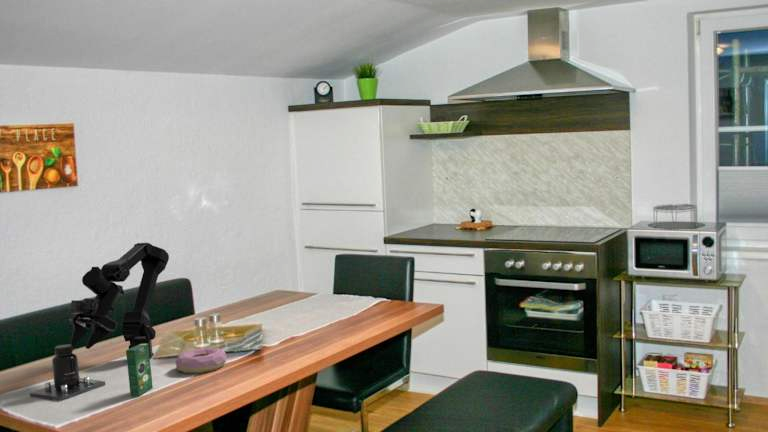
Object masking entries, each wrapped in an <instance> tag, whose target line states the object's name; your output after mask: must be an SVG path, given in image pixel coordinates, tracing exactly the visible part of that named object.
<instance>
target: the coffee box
mask: <svg viewBox="0 0 768 432" xmlns="http://www.w3.org/2000/svg"><path fill="white" fill-rule="evenodd" d="M125 354H126V356H125V357H126V364H127V376H128V383H129V393H130V397H131V398H132V397H134V398H136V397H137V398H138V397H140V396H142V395H143V394H145V393H147V391H150V390H151V389H153V388H154V387H153V378H152V370H151V359H150V357H149V347H148V344H139V345H137V346H135V347H132V348H130V349H129V348H128V349H127V350H125Z"/></svg>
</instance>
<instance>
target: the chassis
mask: <svg viewBox="0 0 768 432" xmlns="http://www.w3.org/2000/svg"><path fill="white" fill-rule="evenodd" d="M79 381H80V384H79V386H77V387H75V388H72V389H68V388H67V385H61V390H57V389H56V388H55V385H54V384H51V382H49V381H48V382H47V381H46V382H44V387H41V388H39V389H36V390H33V391H31V392H29V396H30V397H33V398H39V399H46V400H52V401H58V402H62V401H65V400H68V399H70V398H74V397H76V396H79V395H82V394H84V393H87V392H90V391H92V390H96V389H99V388H100V387H104V386H105V385H106V381H103V380H98V379H90V377H89V376H85V377H79Z"/></svg>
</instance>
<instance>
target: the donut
mask: <svg viewBox="0 0 768 432" xmlns="http://www.w3.org/2000/svg"><path fill="white" fill-rule="evenodd" d="M227 359H228V357H227V354H226V352H225V351H224V350H223V349H222V348H219V347H200V348H194V349H190V350H187V351H184V352H182V353H181V354H179V355H178V356H177V357H176V358H175V365H176V366H175V367H176V369H177V370H178V371H180V372H182V373H185V374H203V373H208V372H212V371H215V370H218V369H221V368H222V367H224V365H225V364H226V362H227Z"/></svg>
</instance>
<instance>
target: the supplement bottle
mask: <svg viewBox="0 0 768 432" xmlns="http://www.w3.org/2000/svg"><path fill="white" fill-rule="evenodd" d="M73 348H74V347H72V345H71V344H70V343H69V344H61V345H60V344H59V345H56V346H55V347H54V354H55V356H54V357H52V360H51V364H52V373H53V385H55V388H56V389H57V390H61V385H67V388H68V389H72V388H75V387H77V386H79V384H80V381H79V378H80V372H79V363H78V362H79V361H78V356H77V354H75V353H73V352H74V349H73Z"/></svg>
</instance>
